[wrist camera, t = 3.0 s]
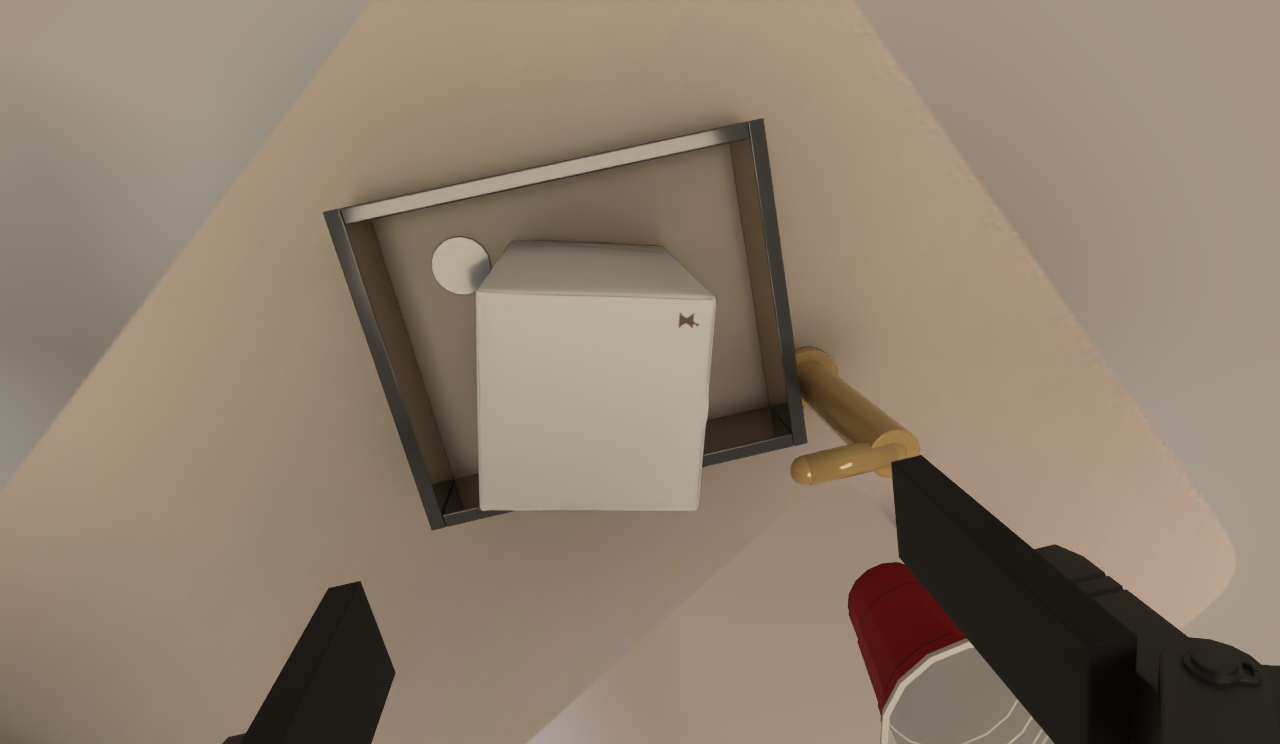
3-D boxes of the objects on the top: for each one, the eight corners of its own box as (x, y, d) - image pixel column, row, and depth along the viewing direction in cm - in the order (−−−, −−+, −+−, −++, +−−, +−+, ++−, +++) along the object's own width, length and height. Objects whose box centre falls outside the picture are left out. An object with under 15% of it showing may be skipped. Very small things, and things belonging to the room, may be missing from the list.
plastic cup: (870, 501, 45) (973, 615, 33) (987, 566, 47) (1120, 694, 36) (778, 624, 47) (846, 771, 36) (896, 680, 50) (994, 834, 38)
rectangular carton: (506, 236, 37) (469, 281, 23) (666, 244, 38) (724, 291, 24) (506, 391, 40) (473, 516, 26) (655, 394, 41) (702, 516, 27)
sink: (445, 493, 42) (398, 621, 30) (351, 206, 36) (248, 226, 24) (836, 402, 43) (939, 492, 31) (802, 110, 37) (911, 85, 25)
